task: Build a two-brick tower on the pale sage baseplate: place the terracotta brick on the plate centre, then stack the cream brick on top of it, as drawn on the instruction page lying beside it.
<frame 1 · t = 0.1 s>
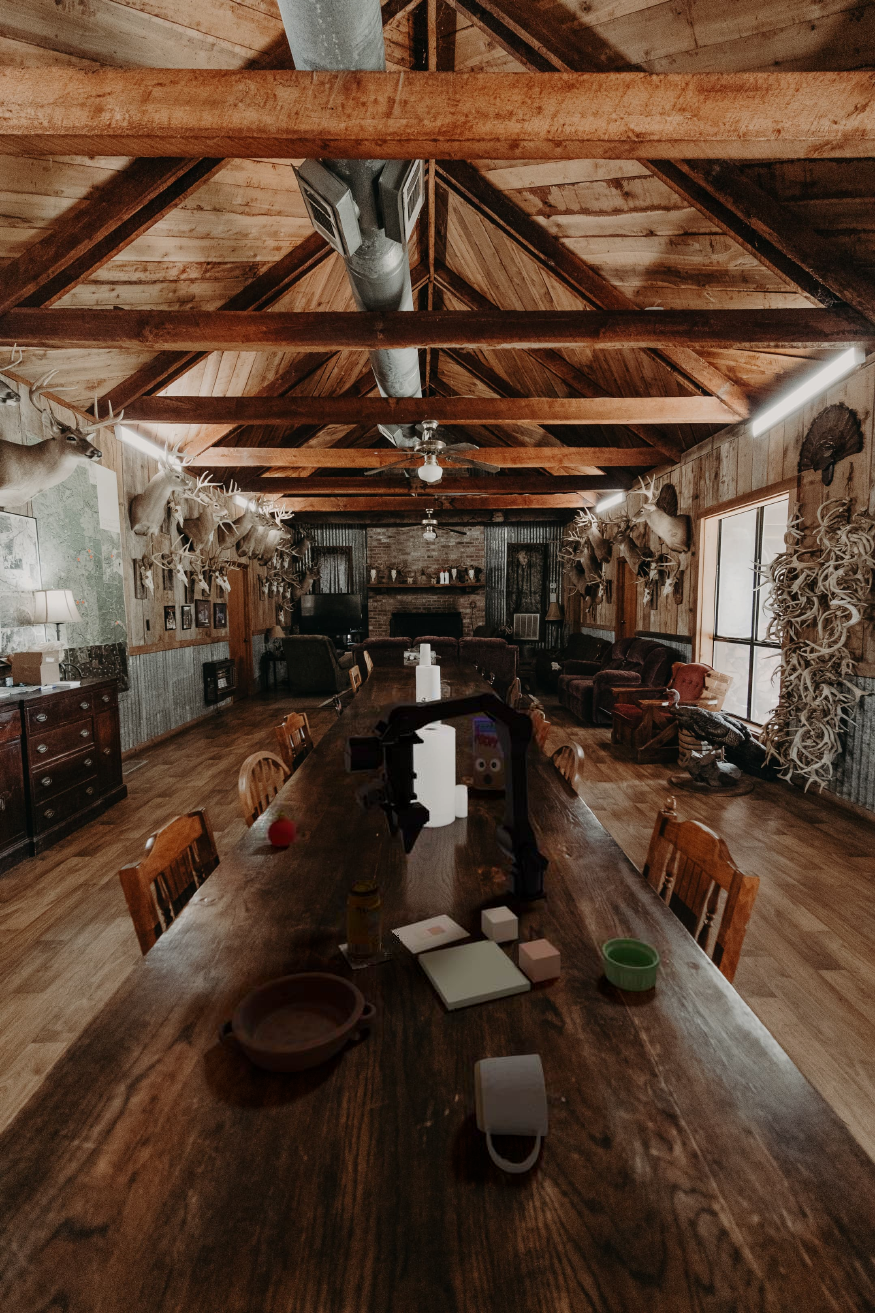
hand: (400, 845, 120), 15 cm above the table, tool pointing down, fingers open, 9 cm apart
cereal box: (499, 789, 209), on the table
ceramic mug: (513, 1136, 71), on the table
cream brick: (499, 935, 114), on the table
dish: (299, 1041, 87), on the table
baseplate: (472, 975, 102), on the table
instruction page: (430, 933, 115), on the table
christmas ornament: (282, 846, 159), on the table
ramekin: (630, 979, 101), on the table
terracotta brick: (539, 972, 103), on the table
condiment: (365, 954, 109), on the table
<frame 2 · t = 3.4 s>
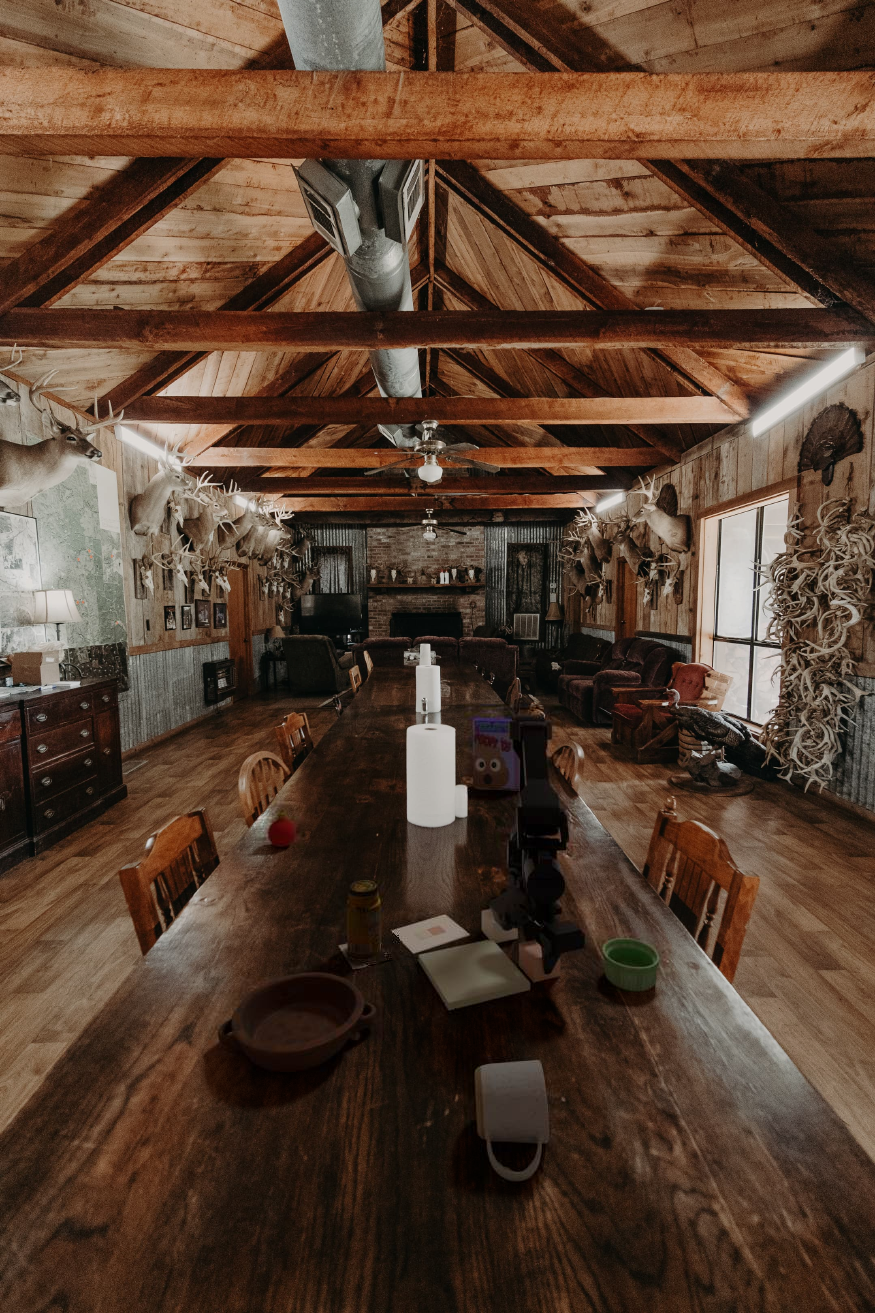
hand: (539, 965, 103), 1 cm above the table, tool pointing down, fingers closed on terracotta brick, 5 cm apart
terracotta brick: (539, 971, 103), on the table, touching gripper
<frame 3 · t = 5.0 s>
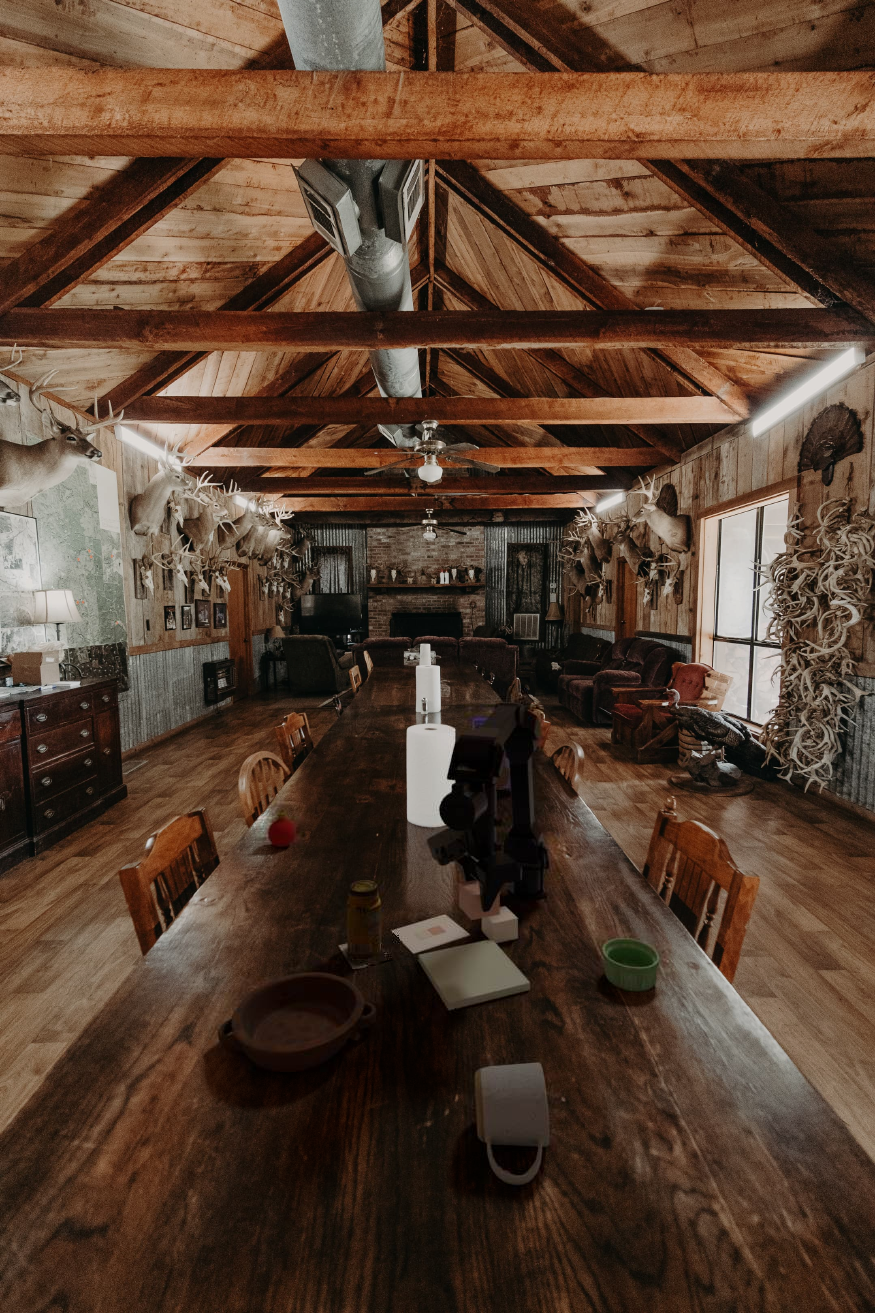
hand: (478, 904, 101), 12 cm above the table, tool pointing down, fingers closed on terracotta brick, 5 cm apart
terracotta brick: (479, 910, 101), point 11 cm above the table, touching gripper
when the fingers open (3 cm above the table, at t = 6.8 s): terracotta brick drops 1 cm, resting on baseplate.
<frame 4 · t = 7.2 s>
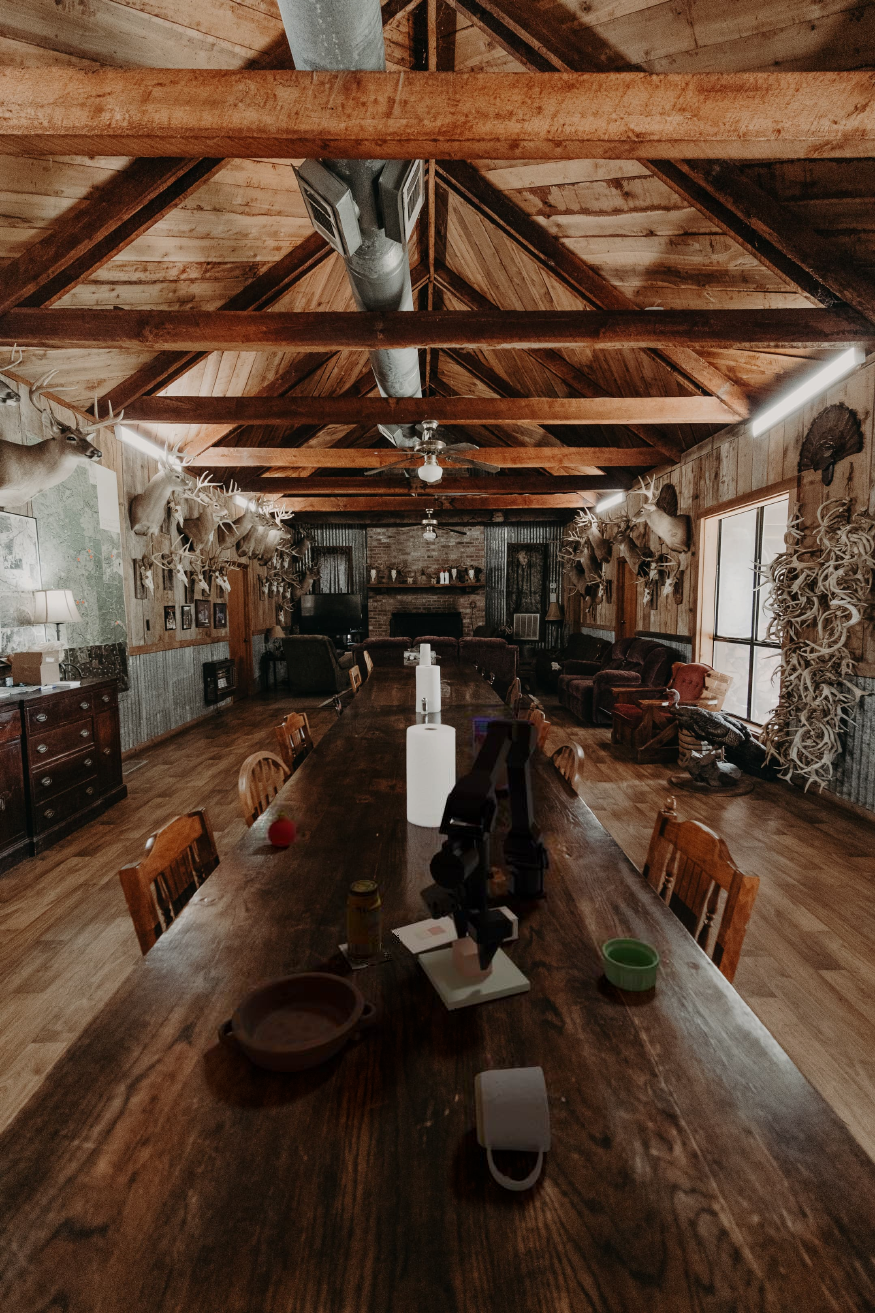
hand: (472, 954, 101), 3 cm above the table, tool pointing down, fingers open, 9 cm apart
terracotta brick: (472, 968, 102), point 1 cm above the table, touching baseplate
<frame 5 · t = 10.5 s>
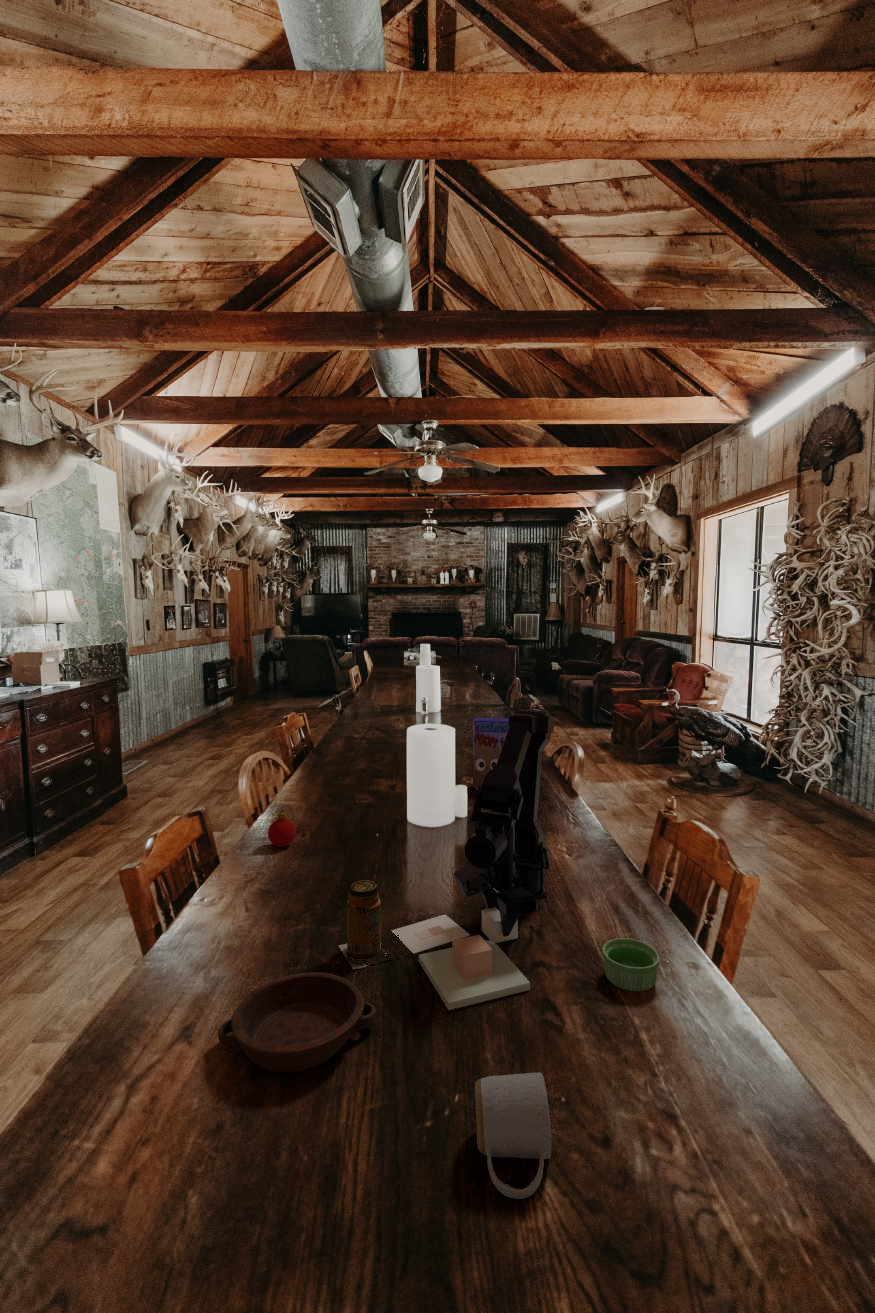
hand: (499, 929, 114), 1 cm above the table, tool pointing down, fingers closed on cream brick, 5 cm apart
cream brick: (499, 934, 114), on the table, touching gripper
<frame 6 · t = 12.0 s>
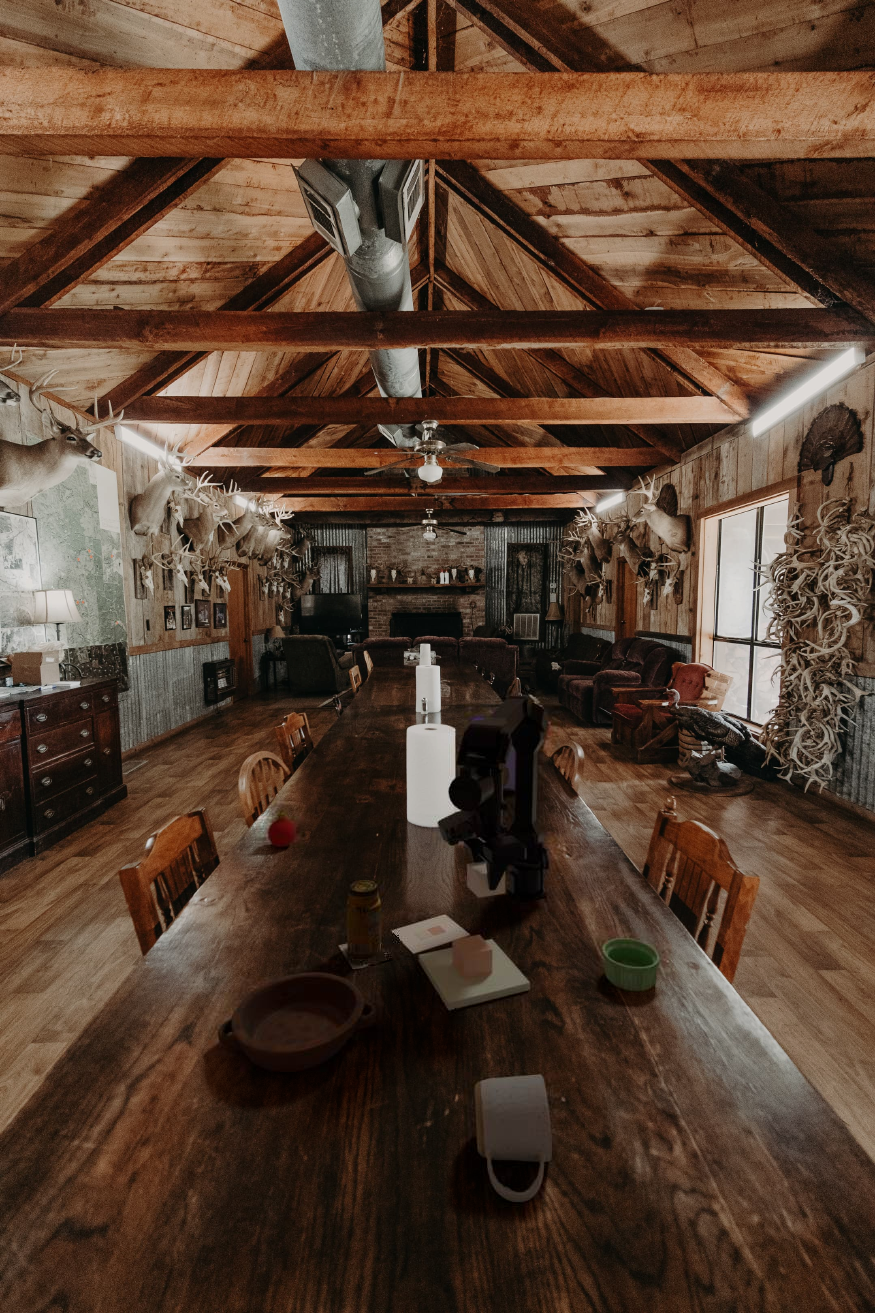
hand: (485, 884, 107), 13 cm above the table, tool pointing down, fingers closed on cream brick, 5 cm apart
cream brick: (485, 889, 107), point 12 cm above the table, touching gripper
when the fingers open (7 cm above the table, at t = 13.6 s): cream brick drops 1 cm, resting on terracotta brick.
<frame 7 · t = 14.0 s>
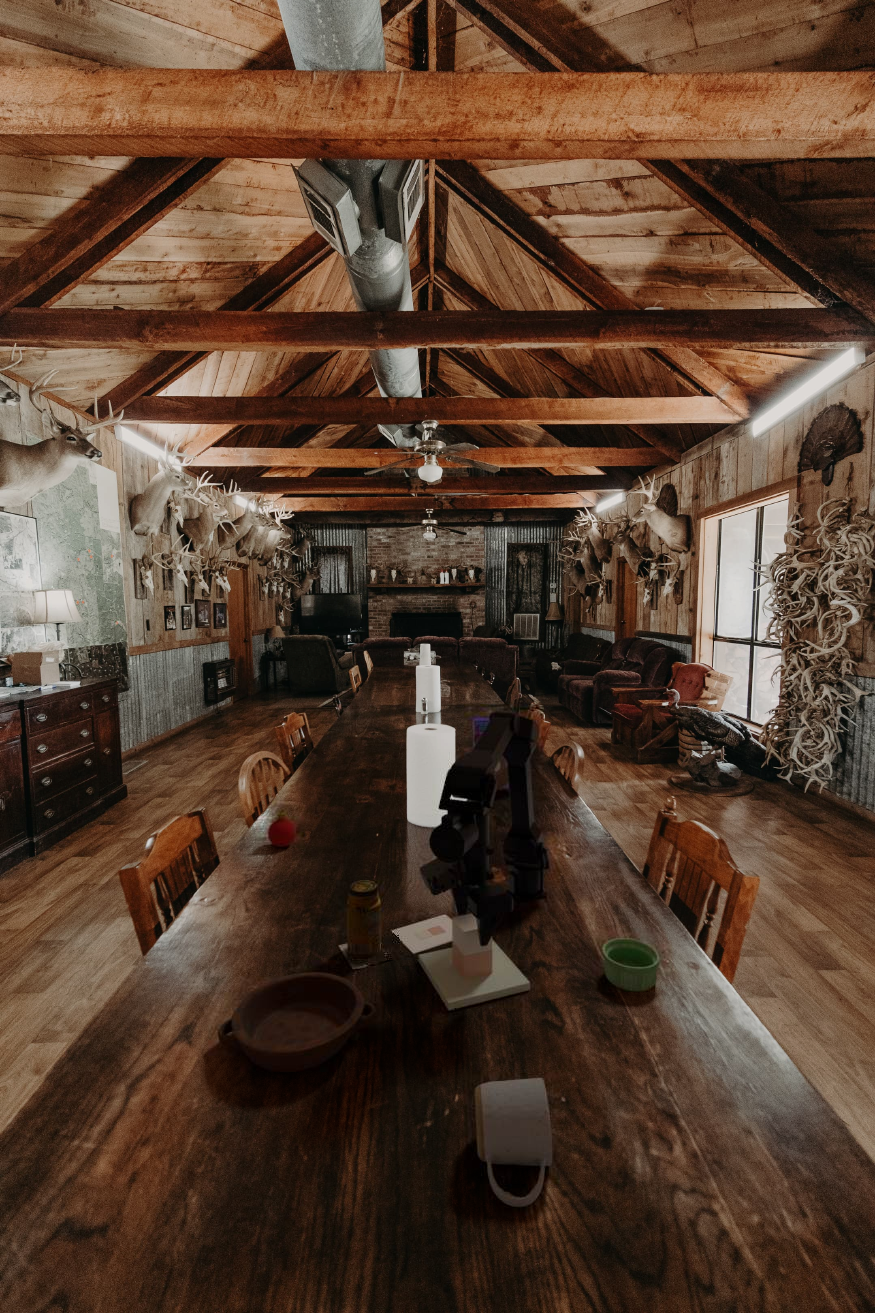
hand: (472, 931, 101), 7 cm above the table, tool pointing down, fingers open, 9 cm apart
cream brick: (471, 945, 101), point 5 cm above the table, touching terracotta brick
terracotta brick: (472, 968, 102), point 1 cm above the table, touching baseplate, cream brick
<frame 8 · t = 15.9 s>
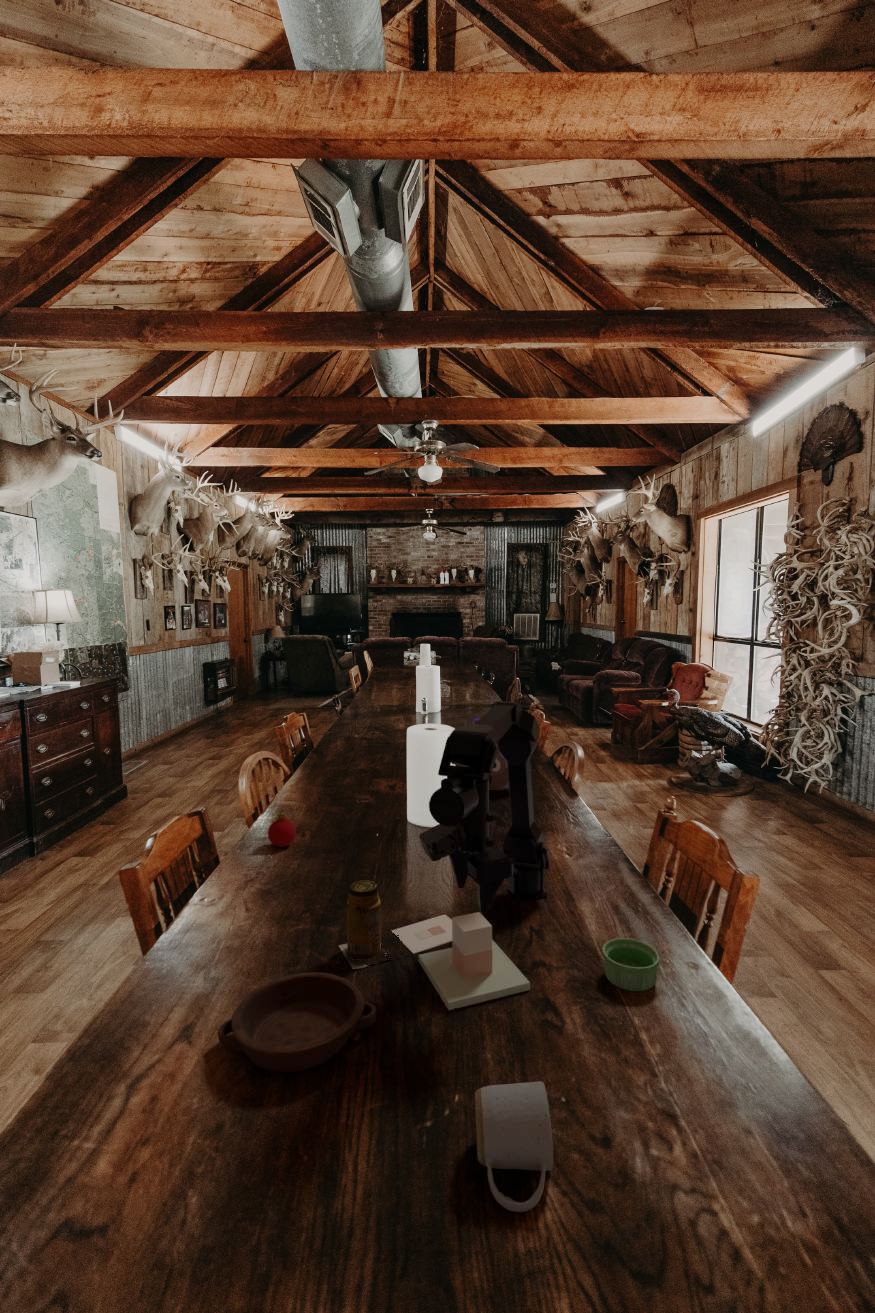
hand: (471, 899, 101), 13 cm above the table, tool pointing down, fingers open, 9 cm apart
at the end: terracotta brick 0.0 cm off-centre on the baseplate, point 1.2 cm above the baseplate's base; cream brick 0.0 cm off-centre on the terracotta brick, point 4.0 cm above the terracotta brick's base; cream brick tilted 0° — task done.
